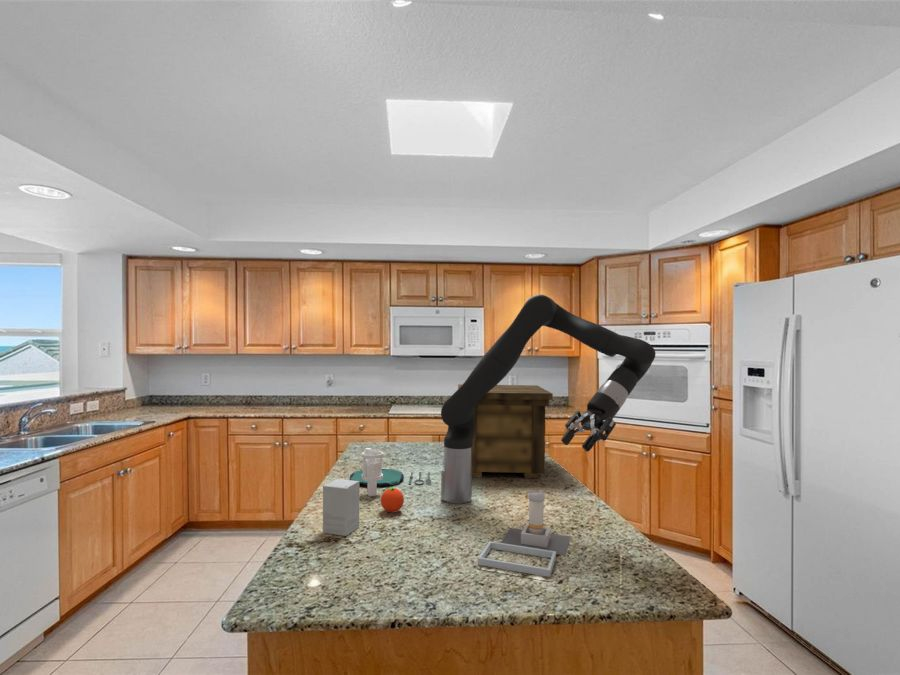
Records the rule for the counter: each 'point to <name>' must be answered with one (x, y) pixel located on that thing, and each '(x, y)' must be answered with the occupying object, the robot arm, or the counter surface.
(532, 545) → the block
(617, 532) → the counter surface
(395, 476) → the cutlery set
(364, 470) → the drinking glass
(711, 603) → the counter surface
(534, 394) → the crate
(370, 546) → the counter surface
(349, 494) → the supplement box
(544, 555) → the tray
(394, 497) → the clementine
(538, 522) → the white bottle
